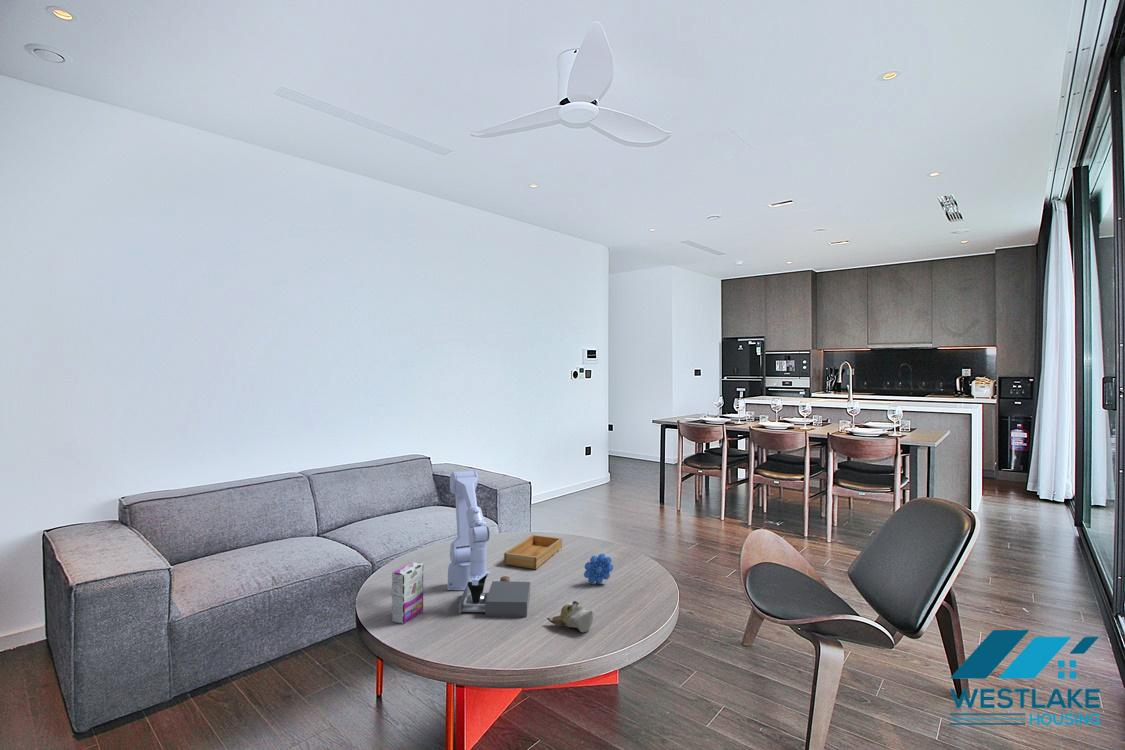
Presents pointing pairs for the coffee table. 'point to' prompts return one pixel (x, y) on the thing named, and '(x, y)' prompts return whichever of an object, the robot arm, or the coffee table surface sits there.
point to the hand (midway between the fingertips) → (477, 597)
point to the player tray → (467, 605)
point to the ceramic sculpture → (574, 617)
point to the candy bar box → (407, 592)
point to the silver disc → (482, 599)
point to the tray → (532, 551)
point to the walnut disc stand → (505, 578)
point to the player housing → (508, 599)
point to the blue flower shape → (598, 569)
